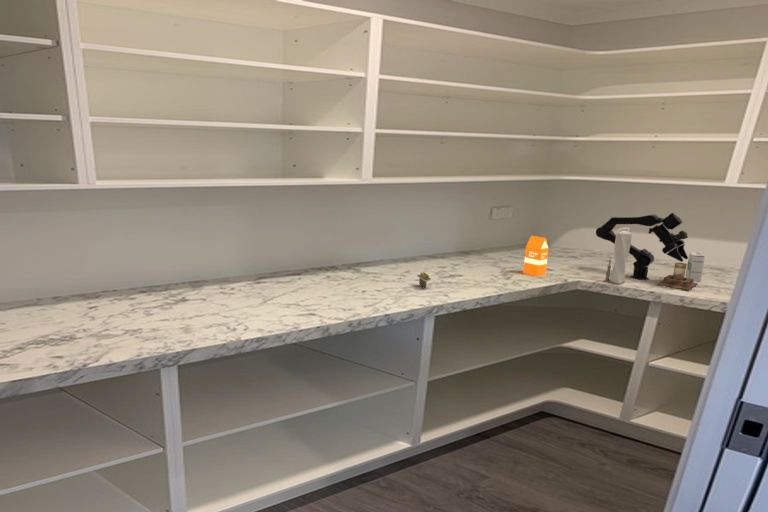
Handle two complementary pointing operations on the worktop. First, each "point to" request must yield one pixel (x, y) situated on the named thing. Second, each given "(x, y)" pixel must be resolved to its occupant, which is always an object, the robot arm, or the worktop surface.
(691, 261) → the syrup box
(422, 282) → the olive brown upright piece
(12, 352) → the worktop surface
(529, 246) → the orange juice
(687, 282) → the walnut dock
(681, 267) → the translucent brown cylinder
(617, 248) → the skyscraper
